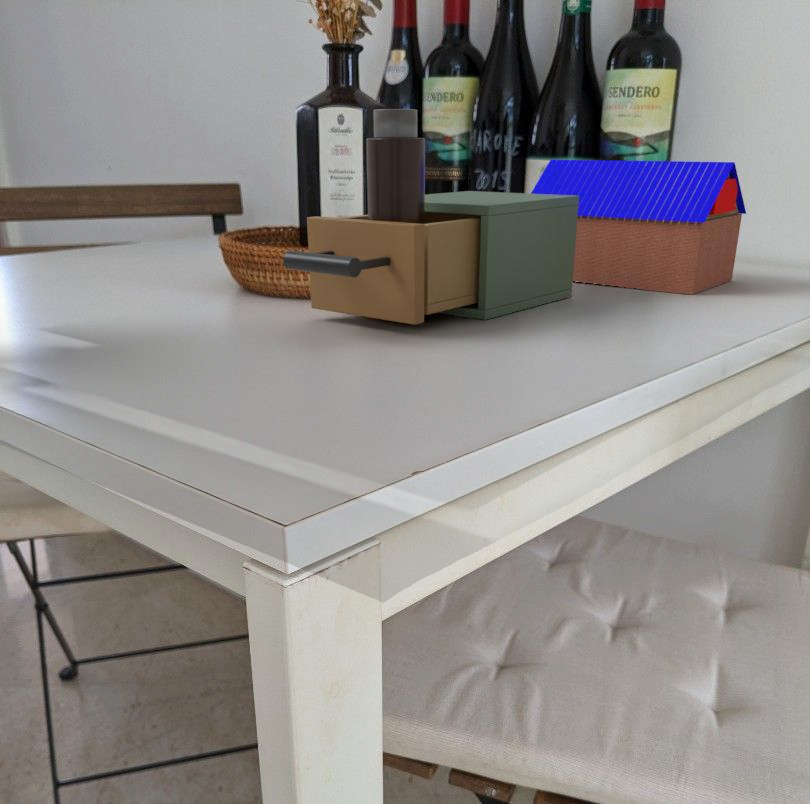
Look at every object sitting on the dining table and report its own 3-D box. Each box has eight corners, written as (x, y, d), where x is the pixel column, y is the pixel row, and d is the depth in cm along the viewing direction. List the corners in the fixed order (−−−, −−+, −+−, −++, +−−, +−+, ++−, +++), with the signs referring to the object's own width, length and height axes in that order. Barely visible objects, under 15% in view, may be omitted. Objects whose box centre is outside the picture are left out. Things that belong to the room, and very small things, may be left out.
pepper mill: (358, 296, 72) (353, 109, 66) (393, 289, 75) (392, 110, 69) (400, 301, 69) (398, 108, 63) (435, 294, 72) (437, 109, 66)
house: (568, 264, 103) (576, 158, 98) (735, 279, 92) (754, 160, 86) (516, 276, 94) (522, 160, 89) (694, 295, 83) (712, 164, 78)
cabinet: (485, 320, 72) (489, 205, 68) (373, 303, 80) (371, 199, 76) (571, 296, 83) (579, 195, 79) (465, 284, 90) (468, 190, 86)
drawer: (372, 335, 63) (370, 230, 60) (268, 317, 70) (261, 221, 66) (510, 300, 76) (515, 212, 73) (411, 288, 82) (411, 206, 79)
